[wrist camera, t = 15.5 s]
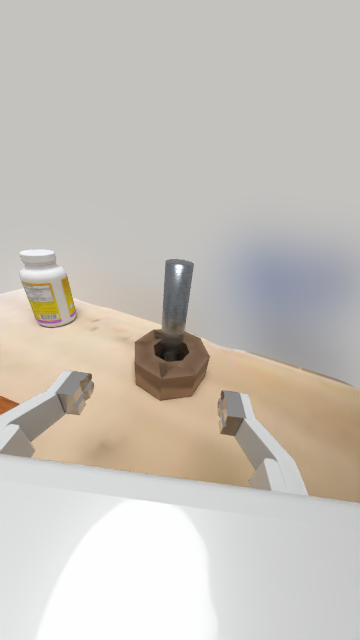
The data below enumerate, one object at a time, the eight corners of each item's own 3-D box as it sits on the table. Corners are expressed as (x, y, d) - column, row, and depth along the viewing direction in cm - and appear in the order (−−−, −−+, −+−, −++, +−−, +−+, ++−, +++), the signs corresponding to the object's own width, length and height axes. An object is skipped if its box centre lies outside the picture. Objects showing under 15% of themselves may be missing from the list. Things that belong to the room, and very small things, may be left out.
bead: (191, 346, 32) (194, 327, 30) (212, 393, 24) (218, 372, 22) (135, 349, 30) (134, 330, 28) (136, 403, 22) (135, 382, 20)
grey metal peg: (176, 361, 29) (189, 260, 20) (181, 376, 26) (197, 267, 18) (158, 363, 28) (163, 258, 20) (160, 378, 25) (168, 265, 17)
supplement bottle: (66, 308, 39) (50, 246, 33) (83, 318, 36) (69, 253, 30) (30, 319, 34) (3, 250, 28) (47, 332, 32) (21, 258, 25)
